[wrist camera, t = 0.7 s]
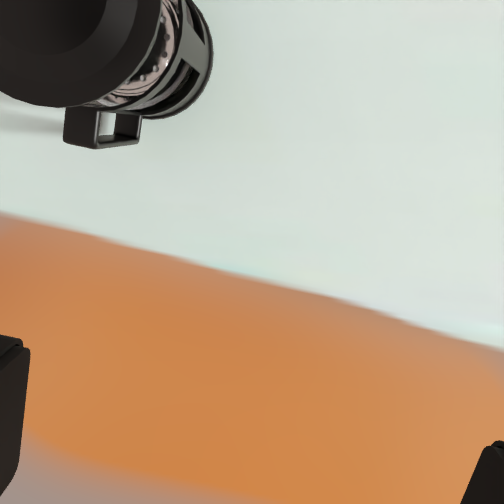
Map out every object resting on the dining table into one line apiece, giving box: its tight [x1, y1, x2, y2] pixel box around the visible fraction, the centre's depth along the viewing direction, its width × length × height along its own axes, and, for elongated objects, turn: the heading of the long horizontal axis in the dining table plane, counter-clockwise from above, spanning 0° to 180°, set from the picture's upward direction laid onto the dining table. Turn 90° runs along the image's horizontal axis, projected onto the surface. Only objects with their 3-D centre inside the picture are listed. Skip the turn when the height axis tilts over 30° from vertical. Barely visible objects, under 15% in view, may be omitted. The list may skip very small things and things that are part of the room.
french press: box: [0, 0, 213, 149], centre depth 23 cm, size 12×9×23 cm
